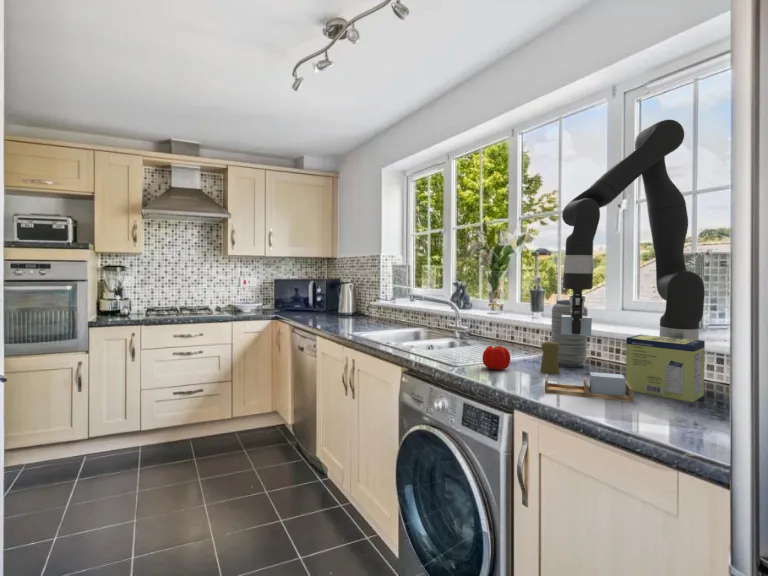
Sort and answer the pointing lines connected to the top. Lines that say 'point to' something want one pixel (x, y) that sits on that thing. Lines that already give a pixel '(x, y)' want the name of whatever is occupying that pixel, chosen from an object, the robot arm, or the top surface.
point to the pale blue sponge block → (607, 384)
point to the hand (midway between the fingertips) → (575, 332)
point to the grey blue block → (567, 325)
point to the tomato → (496, 358)
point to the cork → (550, 358)
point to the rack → (585, 391)
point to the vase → (567, 338)
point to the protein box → (666, 366)
